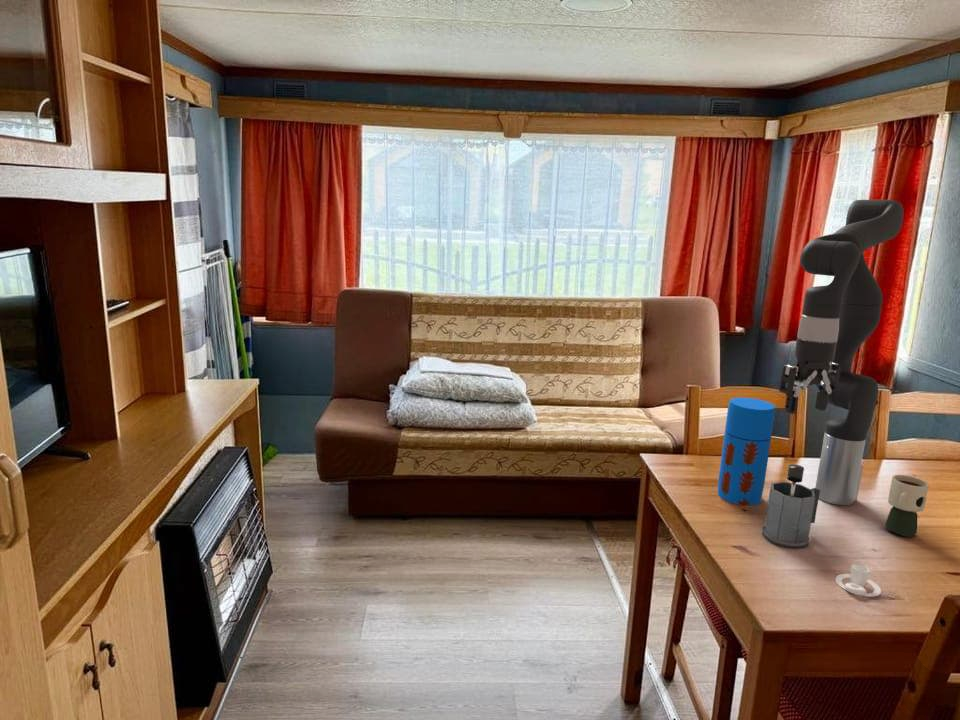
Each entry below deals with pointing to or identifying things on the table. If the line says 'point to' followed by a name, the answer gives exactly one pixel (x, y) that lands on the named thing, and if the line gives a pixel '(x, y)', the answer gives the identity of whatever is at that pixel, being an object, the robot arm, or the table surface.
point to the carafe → (790, 515)
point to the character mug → (906, 504)
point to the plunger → (795, 476)
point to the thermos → (745, 450)
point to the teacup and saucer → (858, 581)
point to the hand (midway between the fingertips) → (805, 411)
